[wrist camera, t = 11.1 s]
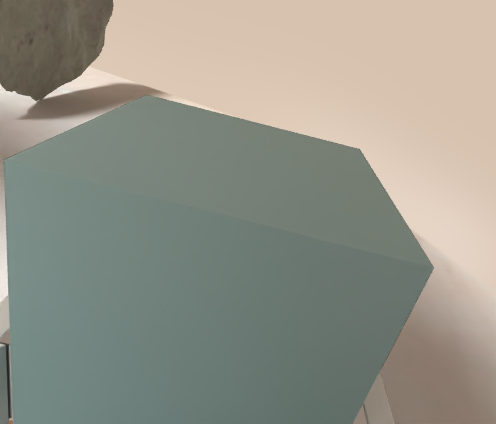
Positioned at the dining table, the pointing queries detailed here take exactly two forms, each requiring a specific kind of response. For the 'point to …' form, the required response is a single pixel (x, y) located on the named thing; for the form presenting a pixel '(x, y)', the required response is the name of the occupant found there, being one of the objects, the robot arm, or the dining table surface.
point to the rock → (49, 42)
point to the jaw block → (200, 272)
